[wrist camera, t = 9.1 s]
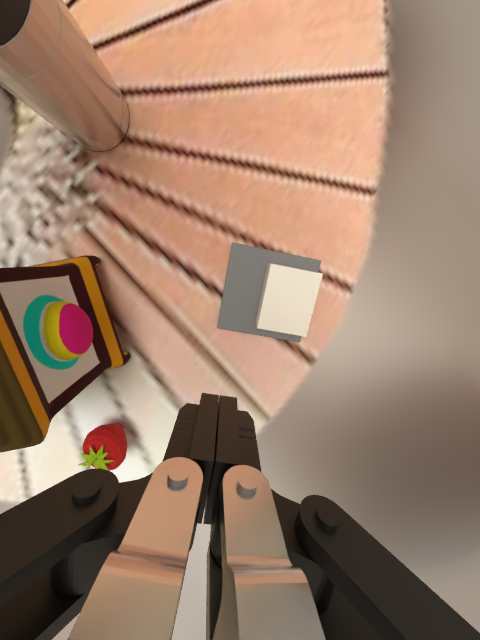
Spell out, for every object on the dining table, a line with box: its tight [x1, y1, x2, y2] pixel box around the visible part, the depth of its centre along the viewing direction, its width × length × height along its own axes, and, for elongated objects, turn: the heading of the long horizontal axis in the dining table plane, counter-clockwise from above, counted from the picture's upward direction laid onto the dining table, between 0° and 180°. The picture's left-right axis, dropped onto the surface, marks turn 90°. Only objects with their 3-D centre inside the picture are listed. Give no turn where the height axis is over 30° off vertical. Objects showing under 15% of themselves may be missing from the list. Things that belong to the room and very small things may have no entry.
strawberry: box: [79, 424, 127, 471], centre depth 41 cm, size 6×8×10 cm
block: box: [255, 263, 323, 337], centre depth 39 cm, size 3×10×8 cm
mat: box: [217, 243, 321, 342], centre depth 40 cm, size 14×14×1 cm
